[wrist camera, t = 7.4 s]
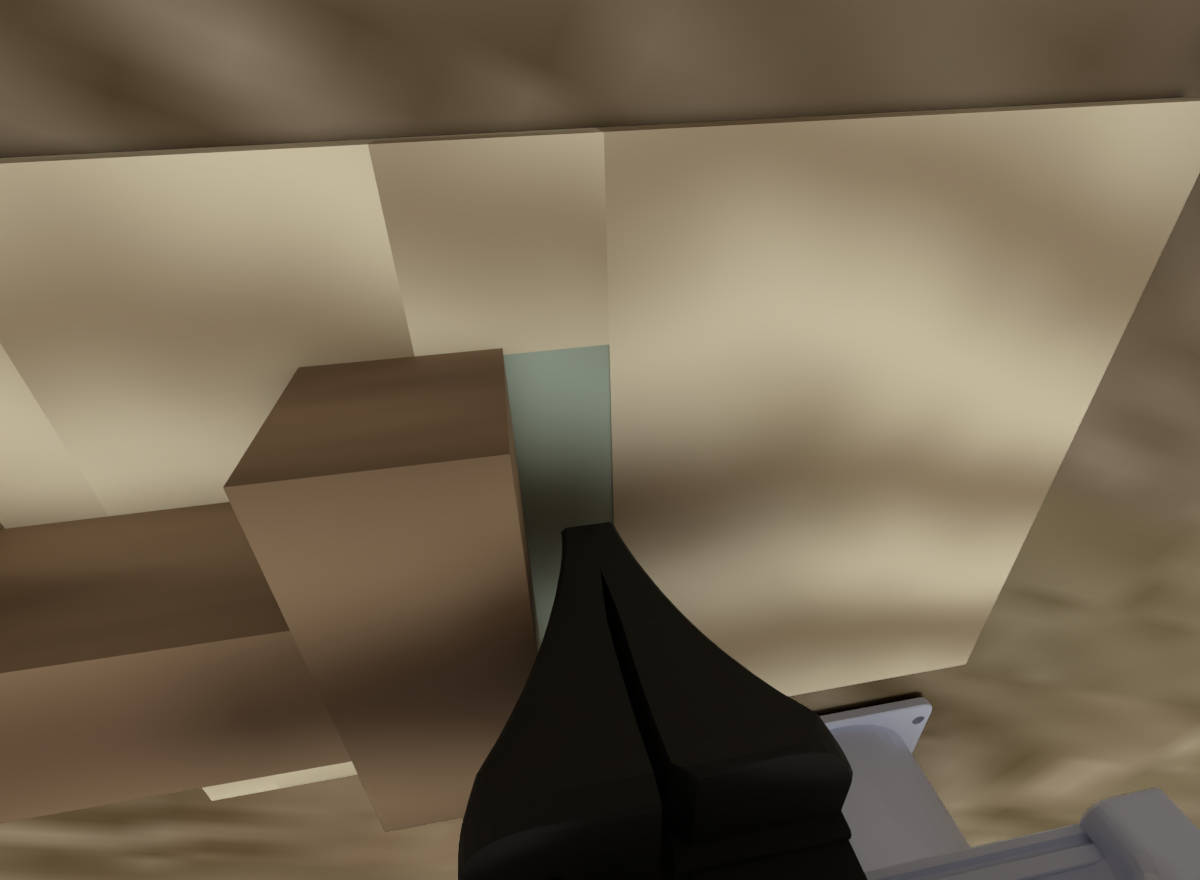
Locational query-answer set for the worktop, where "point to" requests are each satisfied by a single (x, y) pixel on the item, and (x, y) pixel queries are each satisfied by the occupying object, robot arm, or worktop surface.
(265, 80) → the worktop surface
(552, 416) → the board
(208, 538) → the t block
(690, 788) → the robot arm
